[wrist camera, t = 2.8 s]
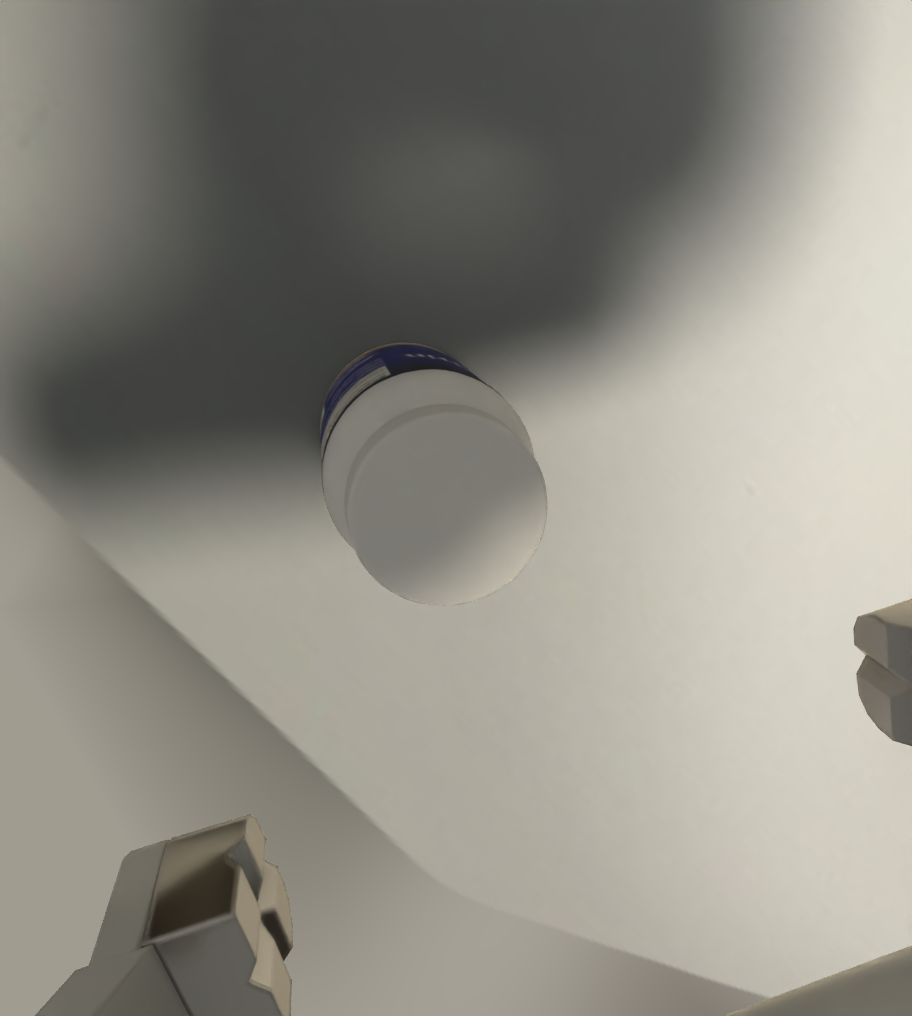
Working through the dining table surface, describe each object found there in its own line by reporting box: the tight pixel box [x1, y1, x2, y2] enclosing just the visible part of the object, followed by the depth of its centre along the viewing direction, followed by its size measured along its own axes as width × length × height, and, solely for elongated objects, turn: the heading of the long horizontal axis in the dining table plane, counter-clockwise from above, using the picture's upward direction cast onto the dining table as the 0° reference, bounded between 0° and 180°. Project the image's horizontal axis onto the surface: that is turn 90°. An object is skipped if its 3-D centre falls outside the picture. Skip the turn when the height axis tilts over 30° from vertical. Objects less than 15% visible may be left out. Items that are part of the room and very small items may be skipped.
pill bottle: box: [320, 343, 547, 606], centre depth 22 cm, size 6×6×10 cm
